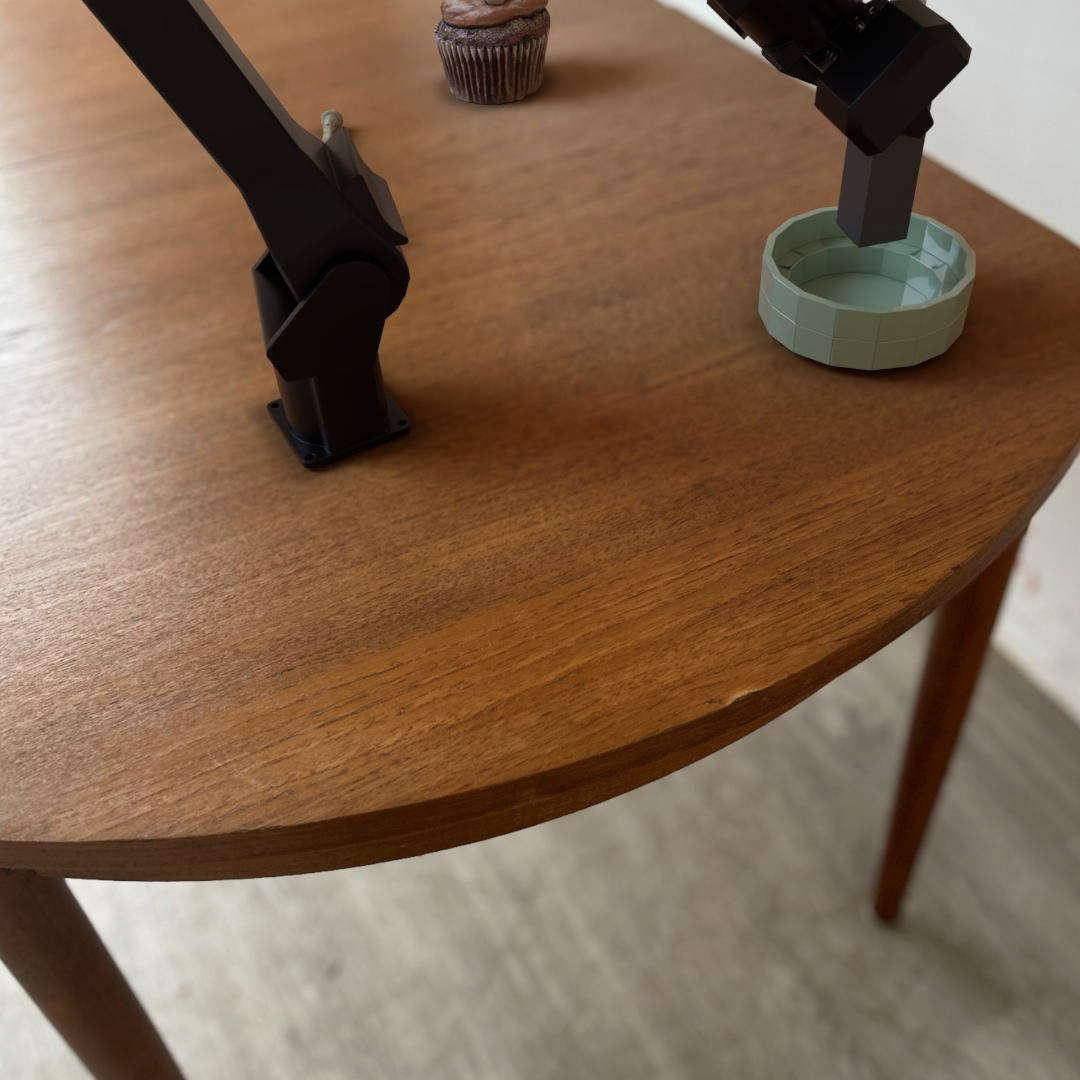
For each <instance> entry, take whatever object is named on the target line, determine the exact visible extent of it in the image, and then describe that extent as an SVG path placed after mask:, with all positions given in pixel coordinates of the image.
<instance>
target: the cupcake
mask: <svg viewBox="0 0 1080 1080" xmlns="http://www.w3.org/2000/svg"><path fill="white" fill-rule="evenodd" d="M548 4H549V0H442V2H441V3H440V6H439V8H440V15H441V18H440V19H439V20H438V22H436V25H434V28H433V32H432V35H433V38H434V41H435V44H436V47H437V50H438V53H439V57H440V59H441V63H442V68H443V71H444V75H445V79H446V82H447V85H448V88H449V90H450V93H451V94H452V95H454V96H455V98H457V99H459V100H461V101H464V102H467V103H474V104H480V105H501V104H505V103H513V102H516V101H522V100H523V99H524V98H525V97H527V96H529V95H531V94H533V93H535V92H537V90H538V89H539V88H540V87H541V86H542V83H543V76H544V70H545V69H544V68H545V62H546V61H545V60H546V53H547V48H548V43H549V35H550V30H551V16H550V13H549V11H548V9H547V8H546V7H548Z"/></svg>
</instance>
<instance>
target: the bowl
mask: <svg viewBox="0 0 1080 1080" xmlns="http://www.w3.org/2000/svg"><path fill="white" fill-rule="evenodd" d="M837 211H838V205H834V206H825V207H819V208H818V207H817V208H816V209H813V210H809V211H807V212H804V213H801V214H798V215H795V216H793V217H789V218H787V219H786V220H785V221H784V222H783V223H781V225H780V226H778V227H777V228H776V229H774V230H773V231H772V232H771V233H770V234H769V235H768V236H767V240H766V243H765V247H764V250H763V253H762V261H761V262H762V263H761V271H760V273H761V274H760V285H759V297H758V304H757V305H758V306H757V312H758V314H759V316H760V318H761V320H762V322H763V325H764V327H765V329H766V331H767V333H768V334H769V335H770V336H771V337H772V338H774V339H775V340H776V341H778V342H779V343H780V344H781V345H783V346H784V347H785V348H787V349H788V350H789V351H790V352H792V353H794V354H796V355H799V356H801V357H805V358H808V359H811V360H813V361H816V362H819V363H822V364H823V365H827V366H831V367H839V368H847V369H856V370H862V371H863V370H865V371H879V370H880V371H881V370H888V369H897V368H904V367H905V368H906V367H914V366H916V365H919V364H921V363H923V362H926V361H928V360H930V359H931V360H932V359H934V358H935V357H937V356H940V355H943V354H945V353H946V351H948V350H949V349H950V347H951V346H952V345H953V344H954V343H955V342H956V340H957V339H958V338H959V337H961V335H962V334H963V331H964V328H965V327H964V326H965V322H966V318H967V314H968V309H969V305H970V300H971V296H972V291H973V288H974V283H975V279H976V268H977V267H976V266H977V264H976V263H977V255H976V253H975V252H974V250H973V249H972V247H971V246H970V245H969V244H968V242H967V241H966V239H965V238H964V237H963V236H962V234H961V233H959V232H957V231H956V230H954V229H952V228H950V227H949V226H947V225H945V224H944V223H942V222H940V221H938V220H937V219H935V218H934V217H931V216H928V215H924V214H920V213H916V212H914V211H912V212H911V218H910V223H909V229H908V234H907V239H904V240H899V241H893V242H888V243H883V244H878V245H873V246H868V247H863V248H858V247H857V246H856V245H855V243H854V242H853V241H852V240H851V239H850V238H849V237H848V236H847V235H846V234H845V233H844V232H843V231H842V230H841V229H840V228H839V226H838V225H837V224H836V219H837Z"/></svg>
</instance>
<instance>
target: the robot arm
mask: <svg viewBox="0 0 1080 1080" xmlns="http://www.w3.org/2000/svg"><path fill="white" fill-rule="evenodd" d="M81 2H82V3H83V4H84V5H85V6H86V7H87V9H88V10H89V11H90V12H91V14H92V15H93V16H94V18H95V19H96V20H97V21H98V22H99V23H100V25H101V26H102V27H103V28H104V30H106V32H107V33H108V34H109V35H110V37H111V38H112V39H113V40H114V41H115V43H116V44H117V45H118V46H119V47H120V49H121V50H122V51H123V52H124V54H125V55H126V56H127V57H128V59H130V61H131V62H132V64H134V66H135V67H136V68H137V69H138V71H140V74H142V75H143V76H144V77H145V79H146V80H147V81H148V83H149V84H150V85H151V86H152V87H153V88H154V90H155V91H156V92H157V93H158V94H159V96H160V97H161V98H162V100H163V101H164V102H165V103H166V104H167V105H168V106H169V108H170V109H171V110H172V111H173V113H174V114H175V115H176V116H177V117H178V118H179V120H180V121H181V122H182V123H183V124H184V126H185V127H186V128H187V129H188V131H189V132H190V133H191V134H192V135H193V136H194V138H195V139H196V140H197V141H198V143H199V144H200V145H201V146H202V148H204V150H205V151H206V153H207V154H208V155H210V157H211V158H212V159H213V161H214V162H215V163H216V165H218V167H219V168H220V169H221V170H222V172H223V173H224V174H225V175H226V176H227V177H228V179H229V180H230V181H231V182H232V184H233V185H234V186H235V187H236V188H237V190H238V191H239V193H240V194H241V196H242V198H243V200H244V202H245V204H246V206H247V208H248V210H249V212H250V214H251V216H252V219H253V221H254V222H255V225H256V227H257V229H258V232H259V233H260V235H261V237H262V239H263V241H264V243H265V245H266V249H265V250H264V252H263V253H262V254H261V255H260V256H259V259H258V260H257V261H256V262H255V263H254V265H253V266H252V267H251V277H252V282H253V288H254V294H255V300H256V304H257V310H258V316H259V323H260V327H261V333H262V338H263V345H264V350H265V356H266V358H267V359H268V360H269V362H270V363H271V364H272V367H273V372H274V375H275V380H276V384H277V388H278V392H279V395H280V398H277V399H275V400H272V401H270V402H269V403H267V405H266V410H267V413H268V415H269V418H271V421H272V422H273V423H274V424H275V426H276V427H277V429H278V431H279V432H280V434H281V436H282V437H283V439H284V440H285V441H286V443H287V444H288V446H289V447H290V449H291V450H292V452H293V454H294V455H295V457H296V458H297V459H298V461H299V462H300V464H301V465H302V467H303V468H304V469H307V470H313V469H316V468H320V467H322V466H324V465H326V464H329V463H332V462H336V461H338V460H339V459H343V458H345V457H348V456H350V455H353V454H356V453H358V452H362V451H364V450H366V449H370V448H372V447H375V446H377V445H380V444H383V443H385V442H388V441H390V440H393V439H396V438H398V437H401V436H404V435H407V434H408V433H410V432H411V431H412V422H411V420H410V418H409V417H408V416H407V415H406V413H405V412H404V411H403V410H402V408H401V407H400V406H399V405H398V403H397V402H396V401H395V400H394V398H393V397H392V396H391V395H390V393H389V392H388V391H387V390H386V388H385V384H384V379H383V373H382V372H383V371H382V366H381V360H380V355H379V349H380V344H381V340H382V336H383V333H384V327H385V323H386V320H387V319H388V318H389V317H391V315H392V314H394V313H395V312H396V311H397V310H398V308H400V305H401V304H402V303H403V300H404V299H405V298H406V295H407V292H408V287H409V284H410V281H411V273H410V268H409V265H408V262H407V259H406V257H405V254H404V251H403V248H402V246H405V245H406V246H407V245H408V244H409V241H410V239H409V238H408V234H407V231H406V228H405V226H404V224H403V221H402V217H401V216H400V213H399V211H398V208H397V206H396V203H395V200H394V197H393V195H392V192H391V190H390V186H389V185H388V181H387V180H386V179H385V178H384V177H383V176H380V175H379V174H377V173H376V172H374V171H373V170H372V169H371V168H370V167H369V166H368V165H367V164H366V163H365V162H364V160H363V158H362V156H361V155H360V153H359V151H358V149H357V147H356V145H355V142H354V140H353V138H352V136H351V134H350V131H349V130H348V129H347V127H346V126H344V125H342V127H341V128H340V129H339V130H337V131H335V132H334V133H333V134H332V136H331V137H330V138H329V139H328V140H327V141H326V142H325V143H324V142H323V141H322V140H321V139H320V138H318V137H317V136H316V135H314V134H313V133H311V132H310V131H309V130H307V129H305V128H304V127H302V125H300V124H299V123H298V122H297V120H295V119H294V118H293V117H292V116H291V115H290V113H289V112H288V111H287V110H286V108H285V107H284V105H283V104H282V102H280V100H279V99H278V98H277V96H276V95H275V94H274V92H273V90H272V89H271V88H270V87H269V85H268V84H267V82H266V80H265V79H264V78H263V77H262V76H261V75H260V73H259V72H258V70H257V69H256V68H255V66H254V65H253V64H252V63H251V61H250V60H249V59H248V57H247V56H246V54H245V53H244V52H243V50H242V49H241V48H240V47H239V45H238V44H237V42H236V41H235V40H234V39H233V37H232V36H231V34H230V33H229V32H228V30H227V29H226V28H225V27H224V24H222V23H221V21H220V20H219V18H218V17H217V16H216V14H215V13H214V12H213V10H212V9H211V7H210V6H209V5H208V3H207V2H206V1H205V0H81ZM706 4H707V6H708V7H709V8H710V9H711V10H712V11H713V12H714V13H715V14H716V15H717V16H718V17H719V18H720V19H721V20H722V21H723V22H724V23H725V24H726V25H727V26H728V27H729V28H731V30H733V31H734V32H735V33H736V34H737V35H738V37H740V38H741V39H742V40H743V41H746V39H747V38H749V39H751V40H752V41H753V42H754V43H755V44H756V45H757V46H758V47H759V48H760V49H761V50H760V53H761V56H762V57H763V58H764V59H765V60H766V61H767V62H768V63H770V64H771V65H772V66H773V67H774V68H775V69H776V71H778V72H779V73H781V74H782V75H783V74H784V75H786V76H788V77H792V78H794V79H796V80H799V81H801V82H803V83H806V84H809V85H812V86H815V87H816V89H815V95H814V96H815V97H814V103H813V105H814V107H815V108H816V109H817V110H818V111H819V112H820V113H821V114H822V115H823V117H824V118H826V119H827V120H828V121H829V122H830V123H831V124H832V125H833V126H834V127H835V128H836V129H837V130H838V131H839V132H840V133H841V134H842V135H843V136H844V137H845V138H847V139H849V140H850V141H851V142H852V143H853V144H854V145H855V146H856V147H857V148H858V149H859V150H860V151H861V152H862V153H863V154H864V155H866V156H867V157H870V156H874V155H877V154H881V153H883V152H884V151H885V149H886V148H887V147H888V146H889V145H890V144H891V143H892V142H893V141H894V140H895V139H896V138H897V137H898V136H899V135H903V136H908V137H912V138H916V139H919V138H921V137H923V136H924V135H925V134H926V135H927V133H928V132H929V131H930V130H931V129H932V128H933V127H934V124H935V121H934V118H933V115H932V113H931V110H929V107H928V105H929V104H930V103H931V102H932V103H933V101H934V100H935V99H936V98H937V97H938V96H939V95H940V94H941V93H942V92H943V91H944V90H945V89H946V88H947V86H949V84H951V82H952V81H953V80H955V78H956V77H957V76H958V75H959V74H961V72H962V71H963V70H964V69H965V68H966V67H967V66H968V65H969V63H970V59H971V55H972V50H973V48H972V47H971V45H970V44H969V43H968V42H967V41H966V39H965V38H964V37H963V36H962V35H961V33H960V32H959V31H958V30H957V28H956V27H955V26H954V24H953V23H952V22H950V21H949V20H947V18H944V17H943V16H942V15H940V14H939V13H937V11H935V10H933V9H931V8H930V7H929V6H928V5H927V4H926V5H924V4H923V3H922V2H920V1H919V0H894V1H890V0H869V1H867V2H864V0H706Z"/></svg>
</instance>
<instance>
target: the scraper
mask: <svg viewBox="0 0 1080 1080" xmlns="http://www.w3.org/2000/svg"><path fill="white" fill-rule="evenodd" d="M889 1H894V0H889ZM919 1H920V2H922V3H923V4H924V5H926V6H927V2H928V1H927V0H919ZM932 103H933V101H932V102H931V103H930V104H929V105H928V107H929V110H930V111H931V110H932ZM926 136H927V133H926V134H925V135H924V136H923V137H921V138H919V139H916V138H912V137H908V136H903V135H899V136H898V137H897V138H896V139H895V140H894V141H893V142H892V143H891V144H890V145H889V146H888V147H887V148H886V149H885V151H884V152H883V153H881V154H877V155H874V156H870V157H867V156H866V155H864V154H863V153H862V152H861V151H860V150H859V149H858V148H857V147H856V146H855V145H854V144H853V143H852V142H851V141H850V140H849V139H848V138H847V140H846V147H845V153H844V154H845V155H844V161H843V162H844V163H843V169H842V175H841V184H840V190H839V191H840V192H839V197H838V198H839V199H838V204H837V206H838V211H837V219H836V224H837V225H838V226H839V228H840V229H841V230H842V231H843V232H844V233H845V234H846V235H847V236H848V237H849V238H850V239H851V240H852V241H853V242H854V243H855V245H856V246H857V247H858V248H863V247H868V246H873V245H878V244H883V243H888V242H893V241H899V240H904V239H907V234H908V229H909V223H910V218H911V212H913V206H914V201H915V195H916V190H917V186H918V185H917V183H918V181H919V175H920V169H921V164H922V163H921V162H922V158H923V153H924V147H925V142H926Z"/></svg>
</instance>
